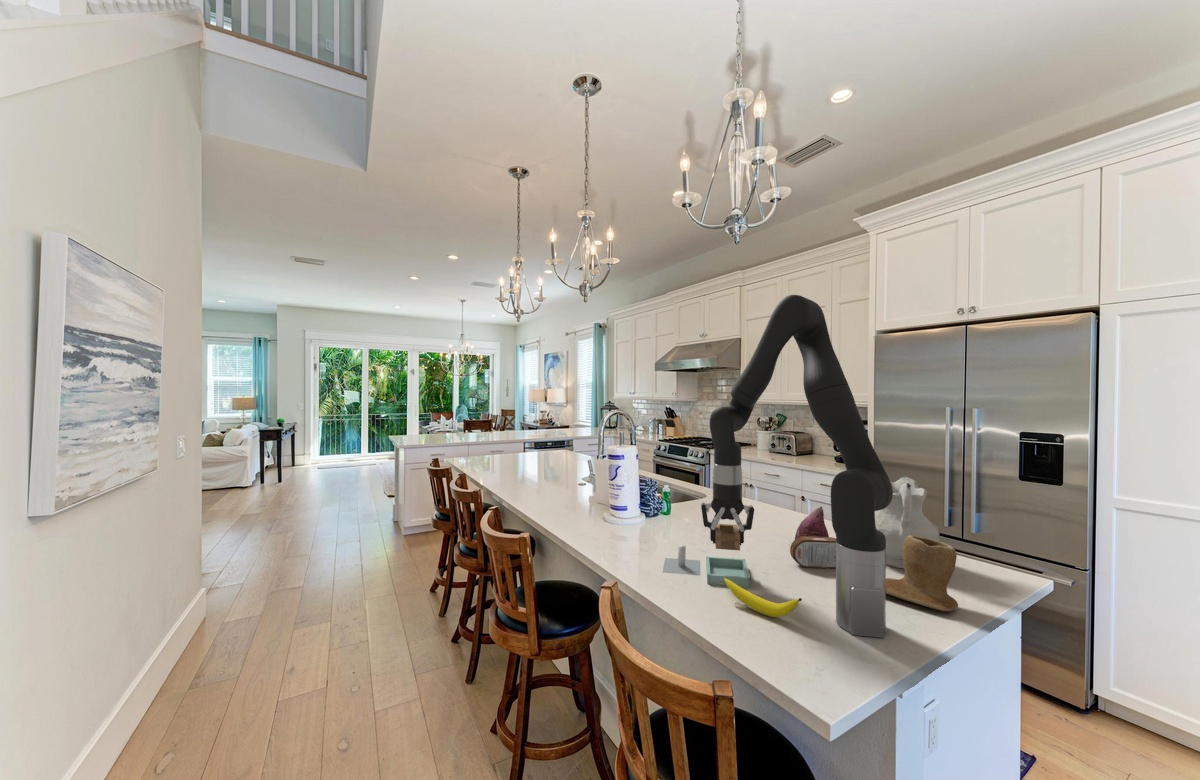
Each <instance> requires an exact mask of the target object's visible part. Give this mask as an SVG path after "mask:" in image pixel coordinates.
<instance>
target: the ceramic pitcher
mask: <svg viewBox="0 0 1200 780" xmlns="http://www.w3.org/2000/svg"><path fill="white" fill-rule="evenodd" d="M890 482H891V485H892V489H893V497H892V500H891V503H890V504H889V505H888V506H887V507H886V508H884V509H882V510H878V511H875V525H876V529H877V530H879V531H881V532H882V533H883V534H884V535H885V538H886V565H887V566H890V567H893V568H895V569H896V568H897V569H904V563H903V556H902V548H903V542H904V540H905V538H906V537H907V536H909V535H912V536H917V537H923V538H927V539H932V540H935V541H939V542H940V531H939V528H938V526H937V525H936V524H935V523H934V522H933V521H931V520H930V519H928V517H926V516H925V515H924V512H923V504H924V501H925V500H926V497H927V495H928V491H927V489H925V488H922V487H919V486H918V484H917V480H915V479H912V478H910V477H909V476H903V475H901V476H900V477H899V479H897V480H896V481H891V480H890Z"/></svg>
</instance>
